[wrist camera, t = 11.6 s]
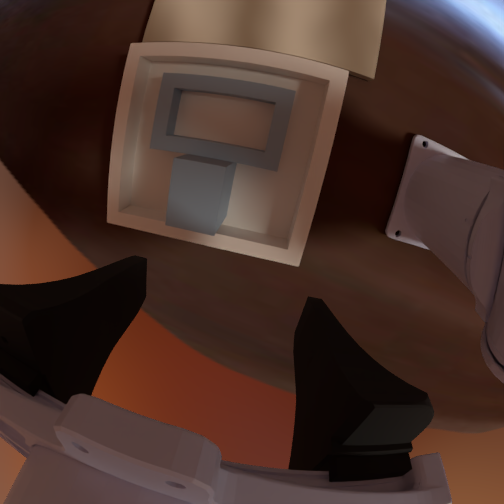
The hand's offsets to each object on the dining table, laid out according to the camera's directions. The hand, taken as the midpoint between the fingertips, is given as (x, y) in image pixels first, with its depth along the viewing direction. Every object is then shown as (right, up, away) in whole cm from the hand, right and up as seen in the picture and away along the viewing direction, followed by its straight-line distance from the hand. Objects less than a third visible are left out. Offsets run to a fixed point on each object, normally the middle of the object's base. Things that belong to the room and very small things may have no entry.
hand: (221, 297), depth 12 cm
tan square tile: (+3, +22, 0) cm, 22 cm away
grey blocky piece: (-1, +9, +6) cm, 11 cm away
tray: (-1, +9, +6) cm, 11 cm away
